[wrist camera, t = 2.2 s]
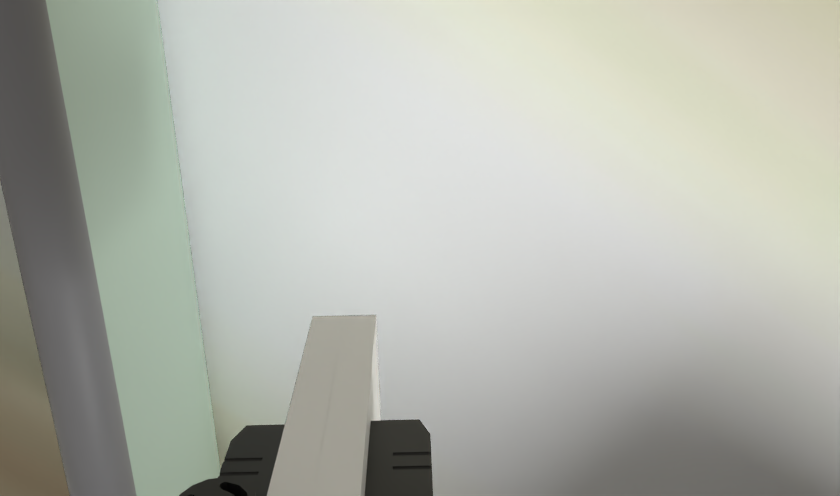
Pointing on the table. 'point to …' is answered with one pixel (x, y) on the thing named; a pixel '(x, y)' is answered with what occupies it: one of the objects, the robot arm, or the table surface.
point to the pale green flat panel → (105, 243)
